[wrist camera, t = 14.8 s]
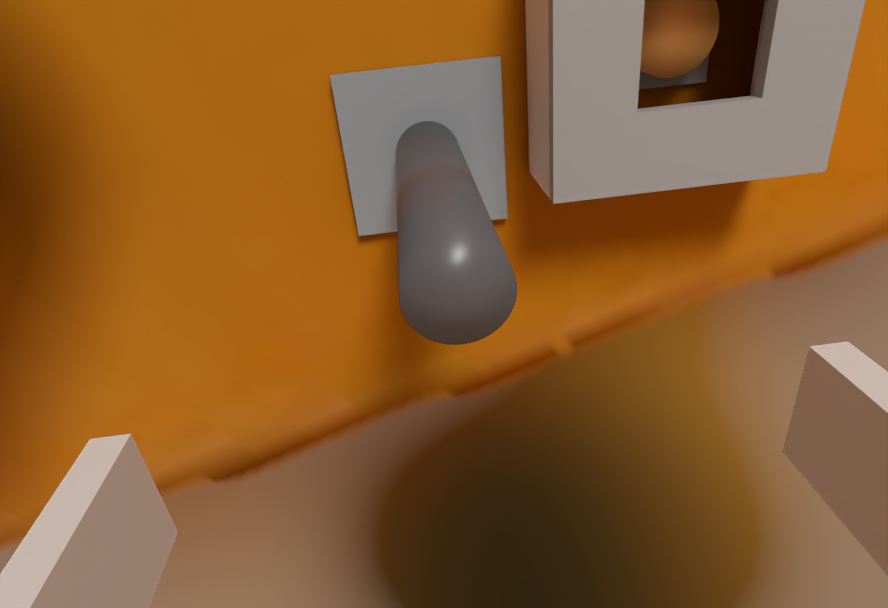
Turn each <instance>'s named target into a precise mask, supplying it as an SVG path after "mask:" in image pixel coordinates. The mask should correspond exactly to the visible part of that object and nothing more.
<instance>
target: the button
mask: <svg viewBox="0 0 888 608" xmlns="http://www.w3.org/2000/svg"><path fill="white" fill-rule="evenodd" d="M719 21H720V17H719V9H718V5H717V2H716V0H645V4H644V19H643V34H642V50H641V65H640V71H641V72H644V73H647V74H650V75H653V76H656V77H660V78H674V77H678V76H681V75H684V74H686V73H688V72H690V71H691V70H693V69H694V68H696V67H697V66H698V65H699V64H700V63H701V62H702V61H703V60H704V59H705V58H706V57H707V55H708V54H709V52H710V51H711V49H712V47H713V45H714V43H715V40H716V38H717V34H718V30H719Z"/></svg>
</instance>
